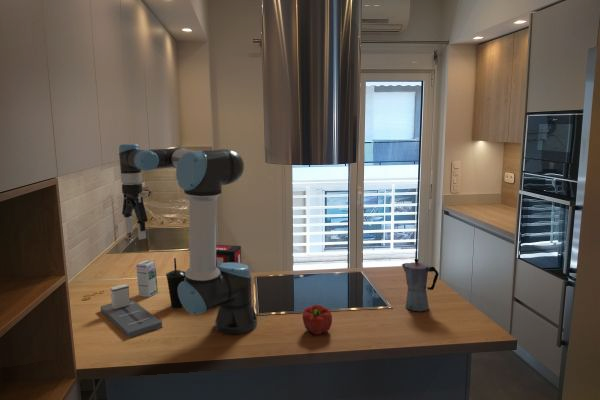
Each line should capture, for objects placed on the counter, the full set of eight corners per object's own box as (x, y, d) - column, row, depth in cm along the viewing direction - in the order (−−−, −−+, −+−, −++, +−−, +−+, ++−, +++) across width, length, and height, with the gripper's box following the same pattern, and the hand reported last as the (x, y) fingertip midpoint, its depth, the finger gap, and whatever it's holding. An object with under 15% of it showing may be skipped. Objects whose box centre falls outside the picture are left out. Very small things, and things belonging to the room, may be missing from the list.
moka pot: (404, 299, 182) (405, 253, 179) (441, 308, 173) (443, 259, 170) (395, 307, 175) (396, 259, 171) (433, 316, 166) (435, 266, 162)
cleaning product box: (199, 294, 190) (197, 250, 186) (207, 287, 198) (205, 244, 195) (235, 296, 187) (234, 251, 183) (242, 289, 195) (240, 245, 192)
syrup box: (149, 297, 187) (147, 265, 184) (138, 296, 189) (135, 263, 186) (158, 292, 192) (155, 261, 190) (146, 291, 194) (144, 259, 191)
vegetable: (330, 341, 148) (330, 313, 146) (300, 338, 150) (299, 311, 148) (333, 326, 159) (333, 300, 157) (305, 324, 161) (305, 298, 159)
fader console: (161, 327, 159) (161, 321, 159) (128, 338, 152) (128, 332, 151) (131, 302, 182) (130, 297, 181) (100, 310, 174) (100, 305, 173)
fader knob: (130, 304, 174) (128, 285, 172) (114, 309, 170) (112, 289, 168) (127, 302, 176) (125, 283, 175) (111, 306, 172) (110, 287, 171)
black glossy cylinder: (182, 310, 174) (179, 261, 170) (164, 308, 175) (161, 260, 172) (190, 302, 181) (188, 256, 178) (173, 301, 183) (170, 255, 179)
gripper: (154, 185, 166) (157, 239, 169) (129, 179, 184) (133, 228, 188) (134, 187, 161) (138, 243, 165) (111, 181, 179) (115, 231, 183)
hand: (135, 235), depth 176 cm, fingers open, 13 cm apart
